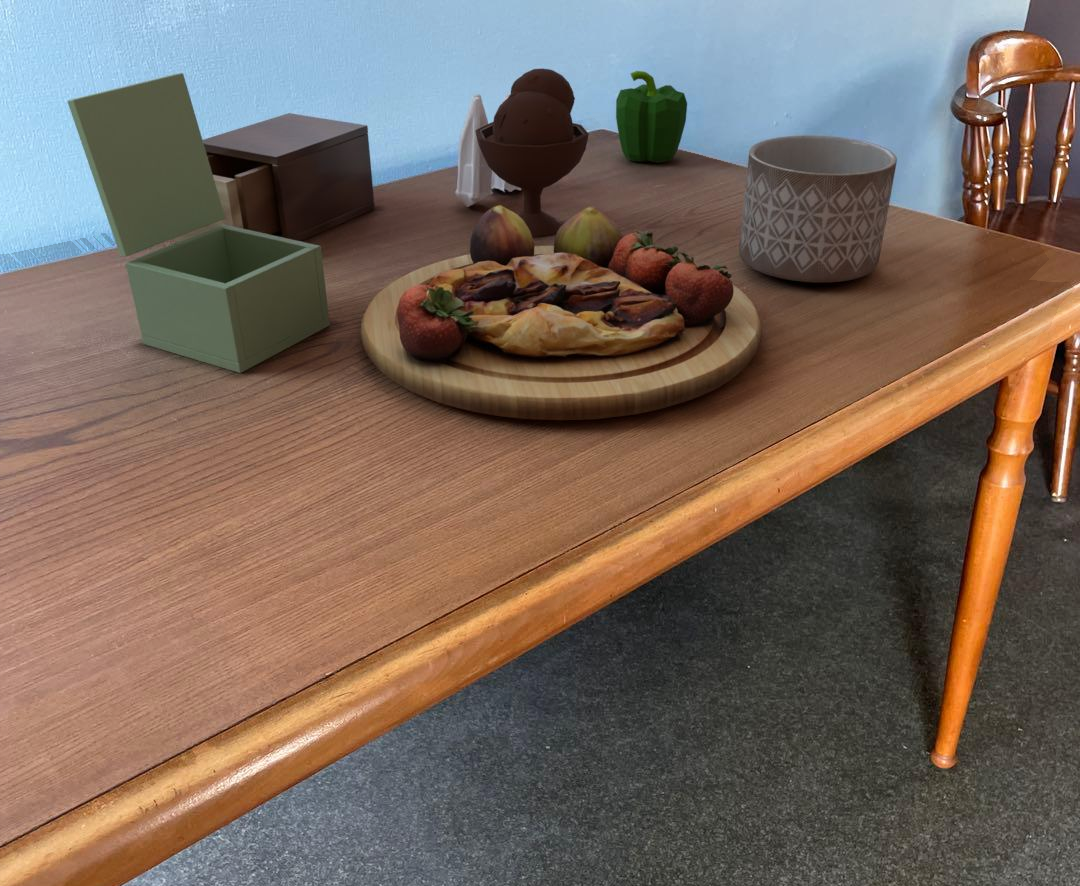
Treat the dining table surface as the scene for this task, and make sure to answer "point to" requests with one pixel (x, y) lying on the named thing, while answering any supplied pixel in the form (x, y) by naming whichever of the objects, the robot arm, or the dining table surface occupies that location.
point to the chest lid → (147, 161)
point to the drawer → (243, 195)
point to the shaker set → (475, 160)
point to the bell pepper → (650, 120)
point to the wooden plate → (561, 324)
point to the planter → (816, 207)
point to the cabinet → (307, 168)
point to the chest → (229, 296)
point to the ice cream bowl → (534, 141)
